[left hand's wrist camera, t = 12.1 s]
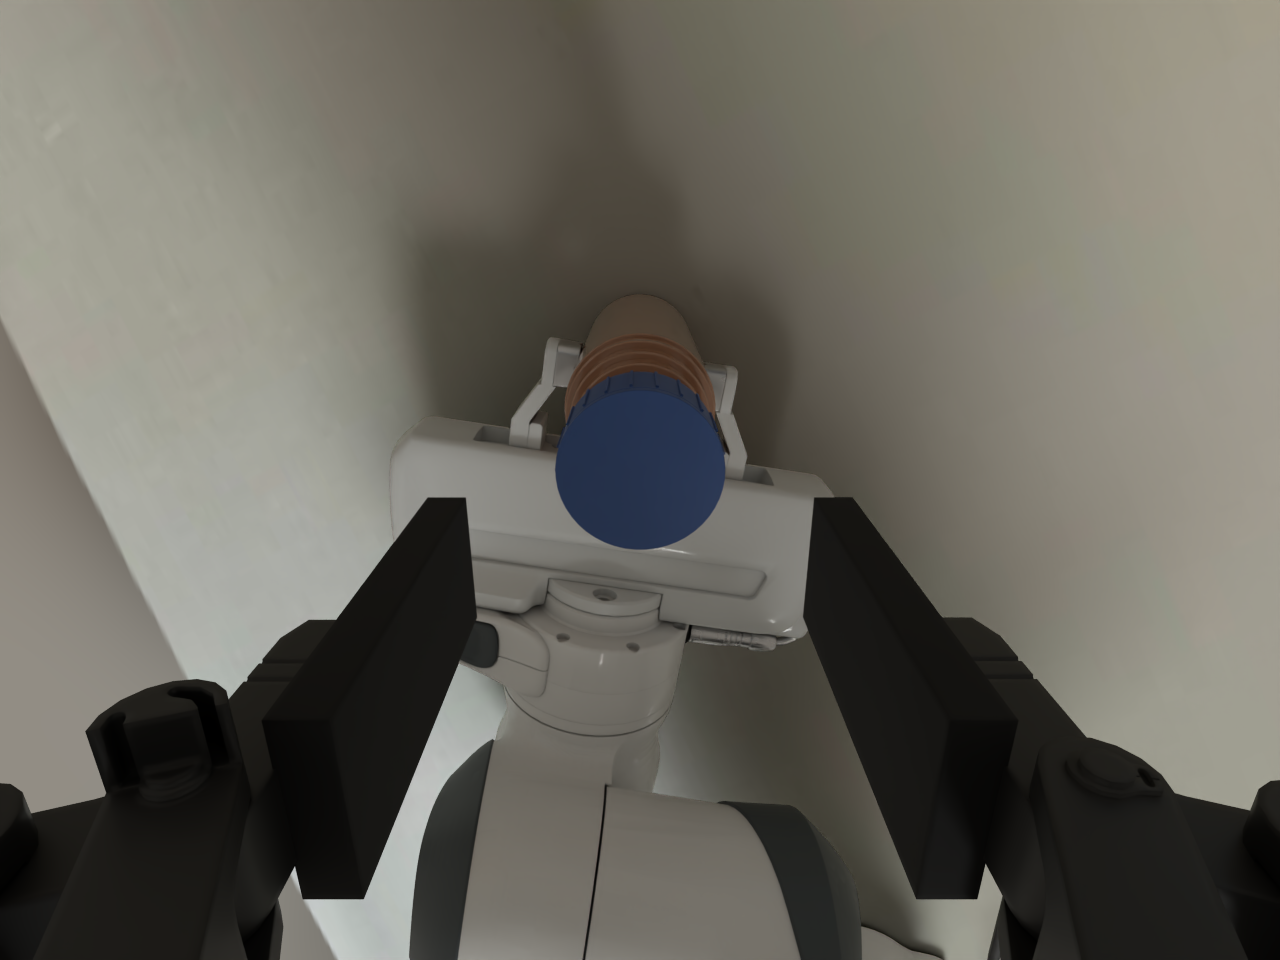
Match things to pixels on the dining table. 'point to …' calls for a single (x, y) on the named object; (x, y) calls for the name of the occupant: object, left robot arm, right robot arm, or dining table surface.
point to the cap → (640, 461)
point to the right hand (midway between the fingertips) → (642, 353)
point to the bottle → (639, 348)
